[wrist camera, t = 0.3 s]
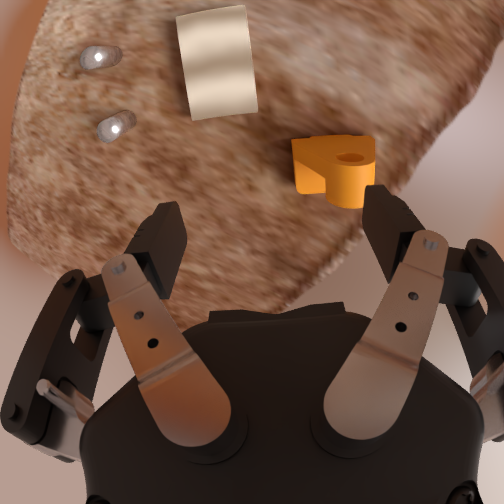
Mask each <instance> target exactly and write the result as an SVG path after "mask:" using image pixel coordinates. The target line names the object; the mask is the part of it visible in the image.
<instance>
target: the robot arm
mask: <svg viewBox="0 0 504 504" xmlns="http://www.w3.org/2000/svg"><path fill="white" fill-rule="evenodd" d="M362 224H363V229H364V232H365V234H366V236H367V238H368V240H369V242H370V244H371V247H372V249H373V251H374V253H375V255H376V257H377V259H378V262H379V264H380V266H381V268H382V271H383V273H384V275H385V278H386V280H387V282H388V284H389V283H390V285H389V286H388V288H387V291H386V293H385V295H384V297H383V299H382V301H381V303H380V305H379V307H378V309H377V311H376V312H375V314H374V316H373V318H372V319H370V318H368V317H366V316H363V315H360V314H357V313H352V312H346V311H345V307H344V303H343V302H334V303H324V304H313V305H308V306H305V307H301V308H298V309H294V310H291V311H287V312H284V313H280V314H269V313H262V312H255V311H248V310H222V311H210V313H209V319H208V321H206V322H203V323H200V324H197V325H195V326H193V327H191V328H189V329H187V330H186V331H184V332H183V333H181V332H180V330H179V329H178V327H177V326H176V324H175V322H174V321H173V319H172V318H171V316H170V315H169V313H168V311H167V310H166V308H165V307H164V305H163V303H162V302H161V300H160V299H169V298H170V295H171V292H172V288H173V285H174V282H175V279H176V276H177V273H178V269H179V266H180V263H181V260H182V257H183V254H184V251H185V248H186V245H187V233H186V229H185V226H184V222H183V219H182V215H181V212H180V208H179V205H178V203H177V202H176V201H173V202H166V203H160V204H158V206H157V208H156V209H155V211H154V213H153V214H152V215H151V216H149V217H148V218H146V219H145V220H144V221H143V222H142V223H141V224H140V226H139V228H138V230H137V231H136V233H135V235H134V237H133V238H132V240H131V241H130V243H129V245H128V247H127V249H126V250H125V252H124V254H121V255H117V256H115V257H113V258H111V259H110V260H109V261H108V262H106V264H105V265H104V266H103V268H102V270H101V274H99V275H96V276H93V277H90V278H86V277H85V275H84V273H83V271H81V270H79V269H75V270H71V271H69V272H67V273H66V274H64V275H63V276H62V277H61V278H60V279H59V280H58V281H57V283H56V285H55V286H54V288H53V290H52V292H51V294H50V296H49V297H48V299H47V301H46V303H45V305H44V307H43V309H42V311H41V312H40V314H39V316H38V318H37V321H36V322H35V324H34V326H33V329H32V331H31V333H30V335H29V337H28V339H27V341H26V344H25V346H24V348H23V351H22V353H21V355H20V357H19V360H18V362H17V365H16V368H15V370H14V372H13V375H12V378H11V380H10V383H9V386H8V389H7V392H6V395H5V398H4V401H3V404H2V407H1V412H0V419H1V423H2V426H3V428H4V429H5V430H6V431H7V432H9V433H11V434H12V435H14V436H15V437H17V438H19V439H21V440H22V441H23V442H24V443H26V444H27V445H29V446H31V447H33V448H35V449H37V450H39V451H40V452H43V453H44V454H47V455H49V456H53V457H55V458H57V459H59V460H61V461H64V462H67V463H70V462H74V461H79V462H82V466H83V469H84V474H85V480H86V489H87V500H86V504H483V502H482V499H481V497H480V494H479V491H478V487H477V473H478V464H479V458H480V452H481V448H482V444H483V443H485V442H487V441H490V440H492V441H494V442H501V441H503V440H504V262H503V260H502V259H501V257H500V256H499V255H498V253H497V252H496V250H495V249H494V248H493V247H492V246H491V245H490V244H489V243H487V242H485V241H483V240H480V239H470V240H469V241H468V242H467V245H466V248H465V250H464V249H458V248H452V247H449V246H448V242H447V241H446V239H445V238H444V237H443V236H441V235H440V234H438V233H436V232H434V231H430V230H426V229H425V228H424V227H423V225H422V224H421V223H420V221H419V220H418V219H417V217H416V216H415V215H414V213H413V212H412V211H411V209H409V207H408V206H407V204H406V203H405V202H404V201H403V200H401V199H400V198H398V197H397V196H395V195H394V196H392V195H391V193H390V192H389V191H388V190H387V188H386V187H385V186H384V185H366V187H365V192H364V204H363V215H362ZM481 292H482V293H483V295H484V297H485V299H486V301H487V305H488V311H487V315H486V314H485V312H484V310H483V308H482V306H481V304H480V302H479V300H478V298H479V296H480V294H481ZM438 303H442V304H446V307H447V309H448V311H449V314H450V316H451V319H452V321H453V324H454V326H455V329H456V331H457V334H458V336H459V339H460V342H461V344H462V347H463V350H464V353H465V356H466V359H467V362H468V365H469V368H470V371H471V375H472V378H473V379H472V382H471V384H470V393H468V392H467V391H466V390H465V389H463V388H462V387H461V386H460V385H458V384H457V383H456V382H455V381H453V380H452V379H451V378H449V377H448V376H447V375H446V374H444V373H443V372H442V371H441V370H439V369H438V368H437V367H435V366H434V365H433V364H432V363H430V362H429V361H428V360H426V359H425V358H424V357H422V354H423V351H424V348H425V346H426V342H427V340H428V337H429V334H430V330H431V327H432V324H433V321H434V317H435V314H436V310H437V307H438ZM75 319H76V320H77V321H78V323H79V324H80V325H81V327H80V329H79V331H78V334H77V337H76V339H75V342H74V344H73V343H72V341H71V338H70V330H71V327H72V325H73V323H74V320H75ZM113 327H116V329H117V332H118V335H119V337H120V339H121V342H122V344H123V347H124V350H125V352H126V354H127V357H128V359H129V361H130V364H131V366H132V368H133V370H134V373H135V376H134V377H133V378H132V379H131V380H130V381H129V382H127V383H126V384H125V385H124V386H123V387H122V388H121V389H120V390H119V391H118V392H117V393H115V394H114V395H113V396H112V397H111V398H110V399H109V400H108V401H107V402H105V403H104V404H103V405H102V406H101V407H100V408H99V409H98V410H97V411H96V412H95V409H94V406H93V403H92V400H93V396H94V392H95V388H96V384H97V381H98V377H99V373H100V370H101V366H102V363H103V359H104V356H105V352H106V349H107V346H108V343H109V339H110V337H111V333H112V330H113Z"/></svg>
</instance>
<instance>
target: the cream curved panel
mask: <svg viewBox="0 0 504 504" xmlns="http://www.w3.org/2000/svg"><path fill="white" fill-rule="evenodd" d="M176 25H177V31H178V38H179V45H180V52H181V58H182V64H183V70H184V77H185V83H186V89H187V94H188V100H189V106H190V112H191V117H192V121H194V120H200V119H206V118H213V117H220V116H228V115H236V114H245V113H255V112H258V104H257V95H256V86H255V78H254V70H253V62H252V54H251V46H250V38H249V30H248V23H247V15H246V8H245V5H237V6H230V7H223V8H217V9H211V10H205V11H200V12H195V13H190V14H186V15H182V16H178V17H176Z"/></svg>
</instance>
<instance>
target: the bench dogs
mask: <svg viewBox="0 0 504 504" xmlns="http://www.w3.org/2000/svg"><path fill="white" fill-rule="evenodd" d="M121 58H122V51H121V49H120V48H119V47H117V46H90V47H87V48H86V49H85V50H84V51H83V52H82V54H81V56H80V64H81V66H82V67H83V68H84V69H94V68H101V67H109V66H115V65H117V64H118V63H119V62H120V60H121ZM135 125H136V116H135V114H134V113H133V112H132V111H130V110H125V111H122V112H120V113H118V114H116V115H113V116H111V117H109V118H107V119H105V120H103V121H101V122H100V123H99V125H98V127H97V135H98V137H99V139H100V140H101V141H103V142H106V143H109V142H112V141H113V140H115V139H117V138H118V137H120V136H121V135H123V134H124V133H126V132H128V131H129V130H131V129H132V128H134V126H135Z"/></svg>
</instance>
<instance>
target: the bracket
mask: <svg viewBox="0 0 504 504" xmlns="http://www.w3.org/2000/svg"><path fill="white" fill-rule="evenodd" d="M291 142H292V153H293V164H294V175H295V184H296V188H297V191H298V192H299V193H301V194H313V193H325V192H326V199H327V200H328V201H329V202H330V203H331V204H333V205H336V206H339V207H343V208H362V207H363V204H364V192H365V187H366V185H374V175H375V139H374V138H372V137H371V136H352V135H325V136H310V138H301V139H291Z"/></svg>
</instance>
